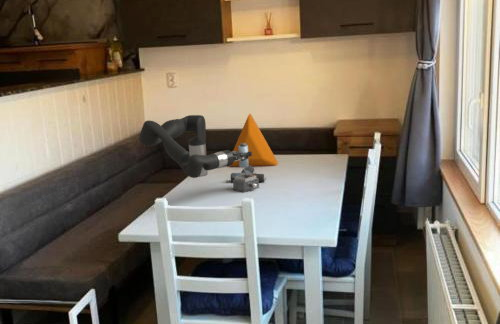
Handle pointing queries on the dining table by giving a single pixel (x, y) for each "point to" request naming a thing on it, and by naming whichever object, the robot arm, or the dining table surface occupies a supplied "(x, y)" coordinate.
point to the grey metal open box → (245, 183)
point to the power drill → (249, 171)
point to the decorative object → (255, 145)
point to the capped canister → (243, 149)
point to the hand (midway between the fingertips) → (247, 153)
